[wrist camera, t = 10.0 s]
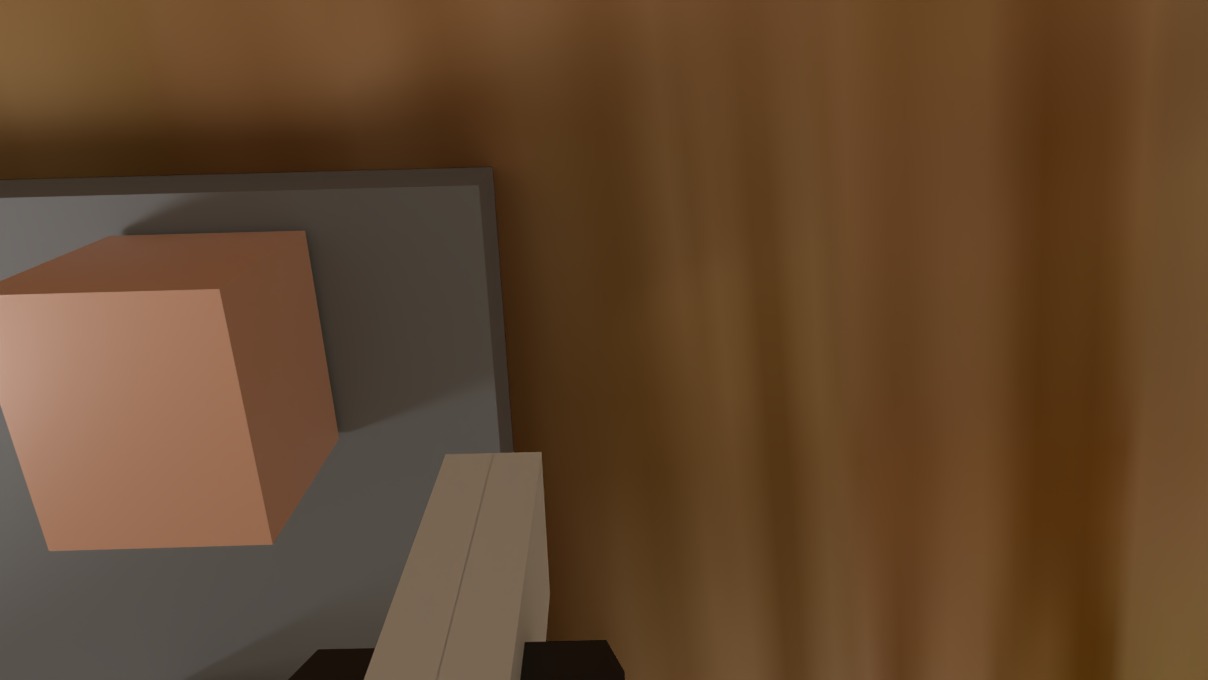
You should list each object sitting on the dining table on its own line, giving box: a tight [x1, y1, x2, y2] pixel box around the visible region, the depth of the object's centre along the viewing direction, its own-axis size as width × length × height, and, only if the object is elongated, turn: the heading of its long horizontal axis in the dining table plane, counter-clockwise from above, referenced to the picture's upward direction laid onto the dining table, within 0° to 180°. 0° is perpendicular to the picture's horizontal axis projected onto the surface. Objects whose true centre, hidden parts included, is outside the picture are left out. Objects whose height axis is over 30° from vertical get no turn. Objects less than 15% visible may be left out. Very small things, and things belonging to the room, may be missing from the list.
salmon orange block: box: [0, 231, 339, 551], centre depth 19 cm, size 5×6×5 cm
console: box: [0, 167, 514, 680], centre depth 26 cm, size 26×24×3 cm
